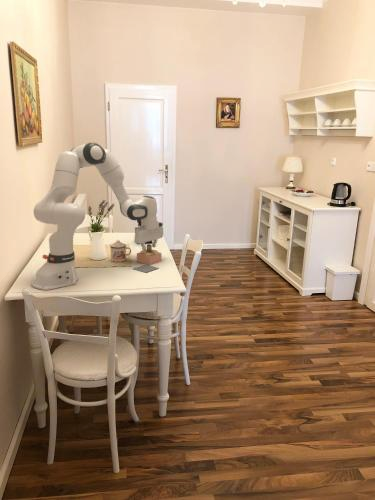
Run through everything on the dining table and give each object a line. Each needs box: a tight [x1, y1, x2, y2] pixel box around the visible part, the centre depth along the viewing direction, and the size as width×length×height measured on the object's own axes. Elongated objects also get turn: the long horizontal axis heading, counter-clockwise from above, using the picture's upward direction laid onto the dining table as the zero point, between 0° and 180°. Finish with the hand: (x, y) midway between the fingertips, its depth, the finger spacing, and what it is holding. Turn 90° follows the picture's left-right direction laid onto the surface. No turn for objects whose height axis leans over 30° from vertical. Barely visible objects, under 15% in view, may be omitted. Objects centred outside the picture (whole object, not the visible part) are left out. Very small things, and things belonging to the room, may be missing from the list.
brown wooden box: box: [134, 219, 153, 245], centre depth 270 cm, size 16×11×18 cm
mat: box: [132, 264, 160, 274], centre depth 221 cm, size 10×10×1 cm
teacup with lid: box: [110, 239, 132, 263], centre depth 234 cm, size 12×9×12 cm
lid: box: [139, 244, 159, 256], centre depth 232 cm, size 10×10×5 cm
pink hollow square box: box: [136, 251, 162, 266], centre depth 233 cm, size 10×10×5 cm
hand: (149, 248), depth 232 cm, fingers open, 7 cm apart
